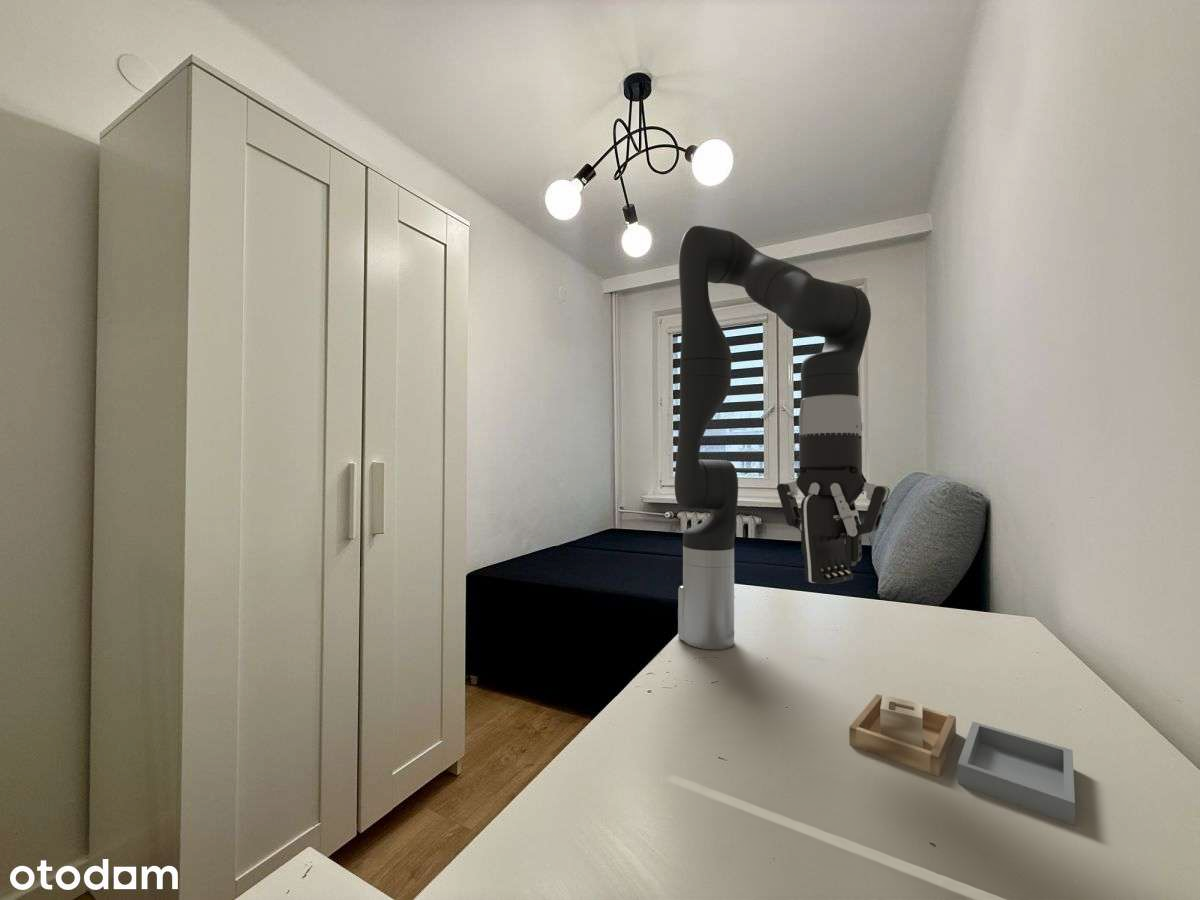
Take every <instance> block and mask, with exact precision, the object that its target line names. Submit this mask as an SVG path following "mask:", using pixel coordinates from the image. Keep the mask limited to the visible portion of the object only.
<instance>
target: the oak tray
mask: <svg viewBox="0 0 1200 900" xmlns="http://www.w3.org/2000/svg"><path fill="white" fill-rule="evenodd" d="M882 695H883V694H877V693H876V694H875V696H873V698H871V700H870V702H868V704H867V705H866V706H865V708H864V709H863V710H862V711H861V713H860V714H859V715H858V716H857V717H856V718H855V719H854V720H853V722H852V723H851V724H850V725H849V727H848V728H849V730H848V731H849V734H848V735H849V736H848V737H849V745H850V746H852V747H854V748H858V749H859V750H860V749H861V750H864V751H867V752H869V753H872V754H875V755H878V756H879V757H883V758H886V759H889V760H891V761H894V762H897V763H900V764H903V765H905V766H908V767H911V768H914V769H916V770H919V771H921V772H925V773H928V774H930V775H933V776H935V777H939V776H940V775H941V771H942V769H943V767H944V764H945V761H946V760H947V757H948V754H949V752H950V749H951V747H952V744H953V742H954V741H955V737H956V734H957V722H956V721H957V717H956V716H955V715H951V714H948V713H944V712H941V711H938V710H934V709H931V708H927V707H924V706H922V715H923V748H920V747H917V746H914V745H911V744H908V743H905V742H902V741H899V740H896V739H893V738H890V737H887V736H884V735H881V729H880V707H881V701H882Z"/></svg>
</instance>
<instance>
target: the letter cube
mask: <svg viewBox="0 0 1200 900" xmlns="http://www.w3.org/2000/svg"><path fill="white" fill-rule="evenodd" d="M881 695H882V701H881V707H880V729H881V735H884V736H887V737H890V738H893V739H896V740H899V741H902V742H905V743H908V744H911V745H914V746H917V747H920V748H923V715H922V707H923V703H920V702H915V701H911V700H906V699H903V698H902V699H901V698H897V697H892V696H890V695H889V696H888V695H884V694H881Z"/></svg>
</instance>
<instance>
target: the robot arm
mask: <svg viewBox="0 0 1200 900" xmlns="http://www.w3.org/2000/svg"><path fill="white" fill-rule="evenodd" d="M678 253H679V254H678V277H679V279H678V280H679V292H680V311H681V313H680V314H681V317H680V318H681V324H680V325H681V328H680V329H681V330H680V331H681V332H680V333H681V334H680V335H681V336H680V337H681V338H680V358H679V359H680V360H679V426H678V439H677V449H676V459H675V470H674V471H675V472H674V495H675V497H674V498H675V500H676V502H677V505H678V506H679V507H680V508H681V509H683V510H695V511H696V510H698V511H699V510H710V512H709V515H708V517H707V518H706V519H704V520H703V521H702V522H700V523H699V524H696V525H693V526H691V527H689V528H687V529H685V530H684V532H683V535H682V585H679V587H678V590H677V591H678V593H677V595H678V596H677V597H678V598H677V600H678V601H677V602H678V603H677V606H678V607H677V622H678V623H677V639H678V640H681V641H683V642H684V643H685V644H687V645H689V646H691V647H695V648H699V649H703V650H726V649H729V648H731V647H733V646H734V644H735V538H736V533H737V516H738V498H739V478H738V472H737V469H736V467H735V466H734V464H733V463H732V462H731V461H729V460H725V459H700V451H701V447H702V446H701V445H702V441H703V437H704V435H705V432H706V430H707V428H708V426H709V424H710V423H711V422H712V420H713V418H714V417H715V415H716V414H717V413H718V411H719V410H720V408H721V407H722V405H723V403H724V402H725V400H726V398H727V397H728V394H729V392H730V388H731V382H732V381H731V380H732V352H731V351H732V350H731V347H730V343H729V342H728V340H727V337H726V335H725V333H724V331H723V329H722V327H721V325H720V323H719V321H718V320H717V317H716V315H715V313H714V311H713V308H712V304H711V302H710V293H709V283H712V284H729V285H733V286H739V287H742V288H744V290H745V292H746V294H747V296H748V297H749V298H750V299H751V300H752V301H753V302H755V303H756V304H757V305H760V306H761V307H763V308H765V309H767V310H768V311H770V312H772V313H774V314H776V315H777V317H778V318H779V319H780V320H781V321H782V322H783V323H784V324H785V326H787V327H789V329H792V330H793V331H795V332H798V333H801V334H803V335H806V336H813V337H820V338H824V342H823V343H824V344H823V347H822V350H821V352H817V353H813V354H811V355H809V356H808V357H805V359H804V360H803V361H802V363H801V367H800V406H799V407H800V408H799V415H798V435H799V436H798V438H799V439H798V441H799V442H798V443H799V444H798V445H799V446H798V447H799V451H798V452H799V454H798V455H799V456H798V457H799V458H798V459H799V460H798V462H799V473H798V475H797V477H796V480H795V481H792V482H791V481H790V482H787V483H785V482H784V483H779V484H777V486H776V490H777V493H778V497H779V499H780V503H781V507H782V511H783V514H784V518H785V521H786V524H787V526H789V527H793V528H796V529H798V530H799V531H800V535H801V536H800V538H801V540H800V541H801V542H800V545H801V546H800V547H801V550H800V551H801V554H802V556H804V548H803V538H802V526H801V510H800V509H799V506H798V502H797V498H796V497H798V495H799V494H798V491H800V492H801V494H802V495H803V496H804V497H806V496H809V495H813V496H818V495H831V496H833V497H834V499H835V502H836V505H837V508H838V510H839V513H840V516H841V518H842V519H843V521H844V524H845V527H846V530H847V534H848V536H846V537H845V555H846V565H847V566H849V567H854V566H856V565H857V563H858V562H861V559H862V557H863V554H862V553H863V549H862V547H863V546H862V539H863V538H862V537H863V536H864V535H865V534H870V533H872V532H876V531H877V530H878V529H879V527H880V524H881V520H882V518H883V515H884V511H885V509H886V505H887V502H888V498H889V496H890V492H891V489H890V487H889V486H887V485H877V484H874V483H872V482H871V483H870V482H867V479H866V478H865V476H864V474H863V453H862V452H863V449H862V448H863V444H862V439H863V438H862V437H863V436H862V434H863V433H862V432H863V422H862V410H861V404H860V398H859V397H860V390H859V389H860V386H859V385H860V384H859V381H860V379H859V378H860V377H859V375H860V374H859V365H860V362H861V360H862V359H861V358H862V355H863V352H864V348H865V343H866V341H867V337H868V333H869V328H870V326H871V320H872V319H871V318H872V312H871V311H872V309H871V304H870V301H869V299H868V297H867V295H866V293H865V292H864V291H863V290H861V289H860V288H858V287H856V286H852V285H847V284H841V283H837V282H833V281H828V280H822V279H820V278H816V277H814V276H813V275H812V274H811V273H810V272H808V270H805V269H804V268H802V267H799V266H797V265H794V264H791V263H789V262H787V261H784V260H780V259H778V258H775V257H772V256H769V255H766V254H764V253H762V252H761V251H760V250H758V249H757V248H755V247H754V246H752V244H750V243H749V242H748V241H747V240H745V239H744V238H743V237H741V236H740V235H739V234H736V232H733V231H730V230H725V229H722V228H721V229H720V228H718V227H710V226H706V225H692V226H691V227H689V228H688V229H687V230H686V231H685V233H684V234H683V236H682V240H681V242H680V245H679V252H678ZM863 491H865V493H866V499H867V500H868V501H869V505H868V507H867V511H866V514H865V517H864V521H863V523H861V520H860V517H859V516H860V515H859V511H858V507H857V505H856V502H855V501H856V500H857V499H858V497H860V495H861V494H862V493H863ZM849 507H851V508H849ZM678 635H679V636H678Z"/></svg>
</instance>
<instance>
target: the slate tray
mask: <svg viewBox="0 0 1200 900" xmlns="http://www.w3.org/2000/svg"><path fill="white" fill-rule="evenodd" d="M1074 773H1075V772H1074V753H1073V749H1070V748H1068V747H1063V746H1060V745H1057V744H1053V743H1049V742H1046V741H1042V740H1038V739H1035V738H1032V737H1028V736H1024V735H1022V734H1018V733H1015V732H1011V731H1008V730H1004V729H1001V728H997V727H993V726H989V725H986V724H983V723H980V722H976V721H971V725H970V727H969V731H968V733H967V736H966V738H965V742H964V745H963V748H962V750H961V752H960V756H959V759H958V762H957V784H958V785H961V786H964V787H965V788H969V789H972V790H974V791H977V792H980V793H983V794H986V795H988V796H991V797H994V798H995V799H996V798H997V799H1000V800H1002V801H1006V802H1008V803H1011V804H1014V805H1016V806H1020V807H1021V808H1024V809H1027V810H1030V811H1032V812H1036V813H1039V814H1041V815H1044V816H1045V817H1046V816H1047V817H1048V818H1049V817H1050V818H1052V819H1055V820H1057V821H1059V822H1063V823H1066V824H1069V825H1072V826H1074V827H1075V826H1076V799H1075V797H1076V796H1075V774H1074Z"/></svg>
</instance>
